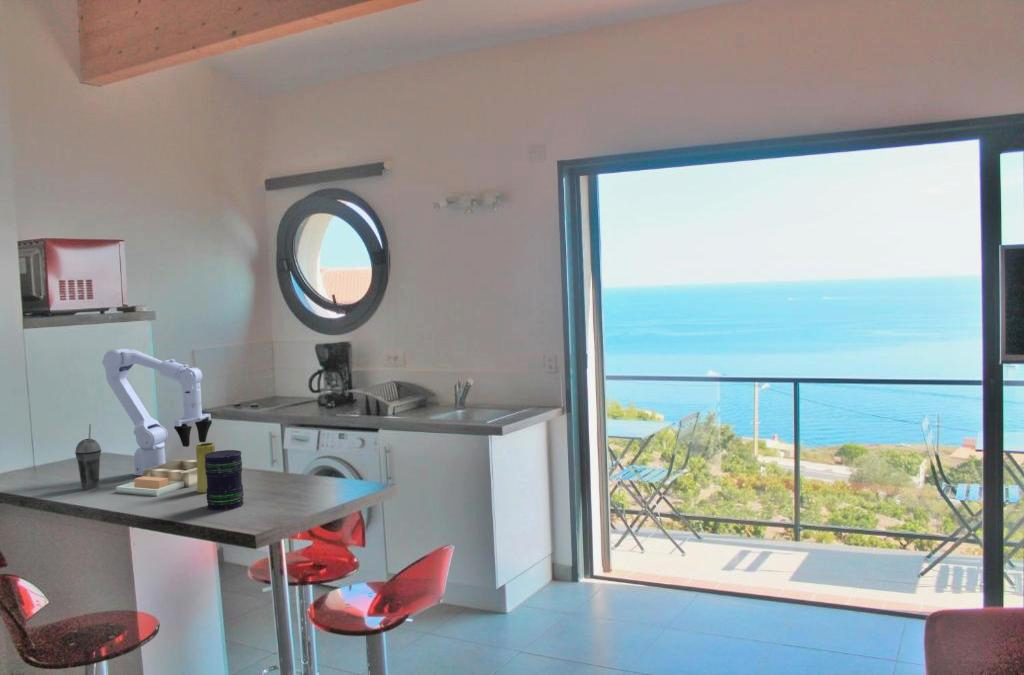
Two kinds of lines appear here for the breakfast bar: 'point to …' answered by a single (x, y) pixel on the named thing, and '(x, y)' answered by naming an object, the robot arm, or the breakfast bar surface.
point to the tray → (132, 489)
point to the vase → (202, 465)
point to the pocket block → (175, 471)
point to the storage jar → (224, 480)
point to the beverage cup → (88, 462)
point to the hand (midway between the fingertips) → (194, 444)
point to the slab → (150, 482)
